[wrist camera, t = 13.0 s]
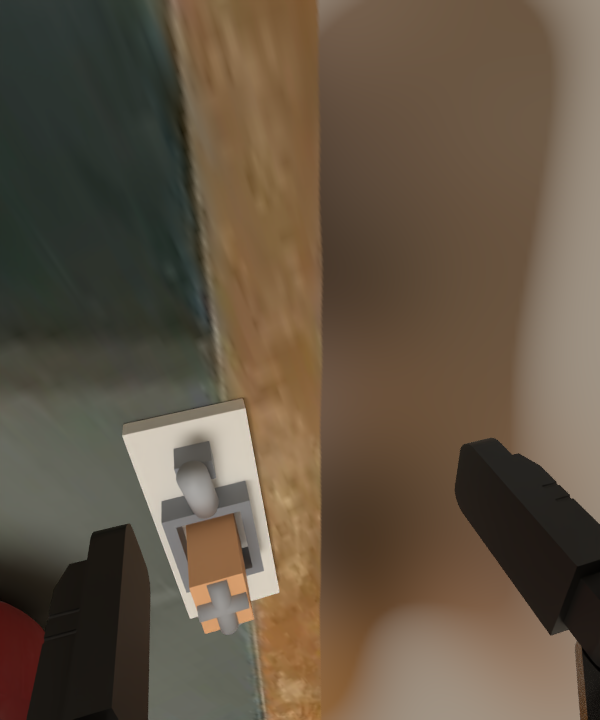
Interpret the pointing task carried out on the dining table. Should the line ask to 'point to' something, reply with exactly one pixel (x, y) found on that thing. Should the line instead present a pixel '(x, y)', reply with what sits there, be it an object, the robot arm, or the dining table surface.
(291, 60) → the dining table surface
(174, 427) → the shaft rig
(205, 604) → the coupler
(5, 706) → the mixing bowl
